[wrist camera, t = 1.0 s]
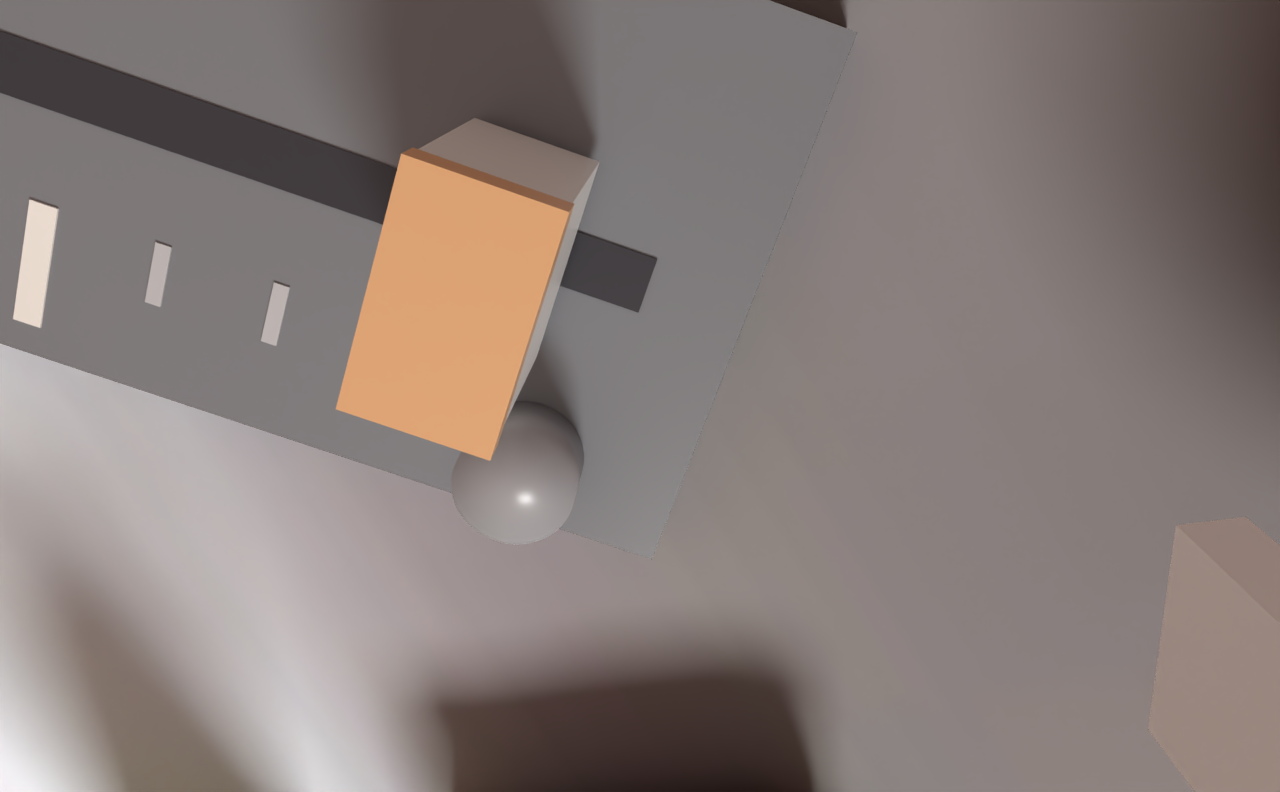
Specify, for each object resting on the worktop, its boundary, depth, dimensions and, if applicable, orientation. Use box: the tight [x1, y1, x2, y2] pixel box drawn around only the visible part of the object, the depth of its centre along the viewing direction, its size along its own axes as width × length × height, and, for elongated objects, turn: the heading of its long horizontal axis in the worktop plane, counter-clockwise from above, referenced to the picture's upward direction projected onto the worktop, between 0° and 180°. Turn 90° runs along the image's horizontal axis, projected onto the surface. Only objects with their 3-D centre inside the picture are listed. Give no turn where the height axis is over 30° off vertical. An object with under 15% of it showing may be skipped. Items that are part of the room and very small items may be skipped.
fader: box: [336, 118, 599, 461], centre depth 23 cm, size 3×5×6 cm, turn 161°
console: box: [0, 0, 857, 559], centre depth 26 cm, size 24×14×4 cm, turn 71°
